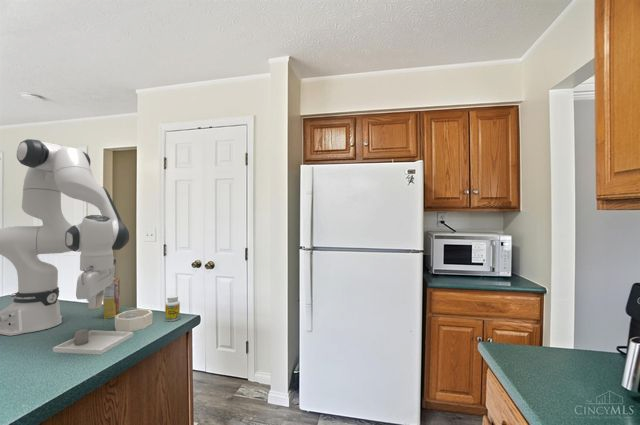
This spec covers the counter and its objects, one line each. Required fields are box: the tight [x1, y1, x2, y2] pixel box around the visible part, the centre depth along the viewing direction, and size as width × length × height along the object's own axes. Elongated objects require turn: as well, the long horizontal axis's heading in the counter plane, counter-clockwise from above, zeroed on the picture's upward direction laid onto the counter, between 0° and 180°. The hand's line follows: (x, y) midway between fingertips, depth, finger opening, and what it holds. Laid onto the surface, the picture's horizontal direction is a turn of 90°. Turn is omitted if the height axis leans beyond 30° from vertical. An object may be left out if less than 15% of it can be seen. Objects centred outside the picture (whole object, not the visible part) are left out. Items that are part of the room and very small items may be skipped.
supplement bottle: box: [164, 294, 181, 322], centre depth 122 cm, size 5×5×10 cm
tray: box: [52, 329, 134, 356], centre depth 97 cm, size 16×14×2 cm
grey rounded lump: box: [125, 313, 136, 319], centre depth 114 cm, size 4×4×4 cm
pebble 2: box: [87, 294, 103, 311], centre depth 97 cm, size 4×4×4 cm
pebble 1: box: [74, 328, 90, 346], centre depth 97 cm, size 4×4×4 cm
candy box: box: [103, 277, 121, 320], centre depth 126 cm, size 9×4×15 cm, turn 23°
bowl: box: [114, 308, 153, 332], centre depth 113 cm, size 12×12×5 cm
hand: (96, 304), depth 98 cm, fingers closed on pebble 2, 4 cm apart
